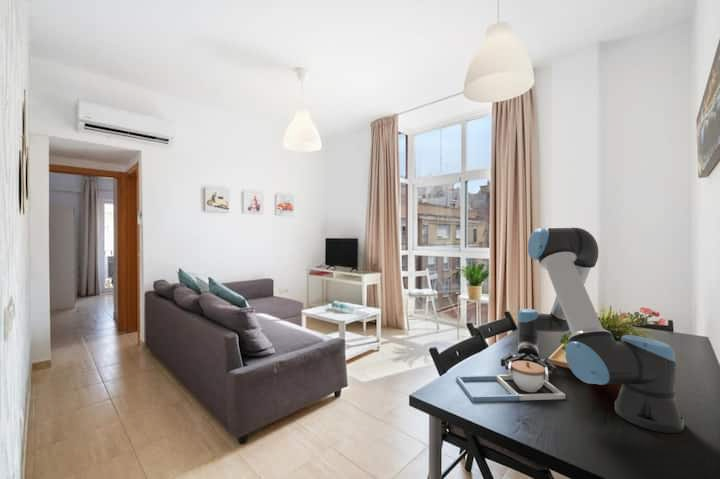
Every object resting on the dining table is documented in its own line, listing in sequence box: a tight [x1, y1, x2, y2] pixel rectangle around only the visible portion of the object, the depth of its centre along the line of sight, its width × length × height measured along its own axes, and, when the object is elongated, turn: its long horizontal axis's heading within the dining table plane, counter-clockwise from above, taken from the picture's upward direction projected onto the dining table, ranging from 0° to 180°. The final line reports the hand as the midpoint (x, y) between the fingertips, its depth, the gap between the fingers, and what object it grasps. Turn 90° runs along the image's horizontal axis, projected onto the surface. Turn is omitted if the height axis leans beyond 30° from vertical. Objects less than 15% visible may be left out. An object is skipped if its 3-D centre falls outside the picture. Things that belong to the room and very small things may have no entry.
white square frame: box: [496, 373, 566, 401], centre depth 114 cm, size 16×16×2 cm
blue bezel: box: [455, 374, 519, 403], centre depth 113 cm, size 16×16×2 cm
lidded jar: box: [511, 361, 545, 393], centre depth 114 cm, size 11×11×9 cm
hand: (527, 375), depth 110 cm, fingers closed on lidded jar, 11 cm apart
